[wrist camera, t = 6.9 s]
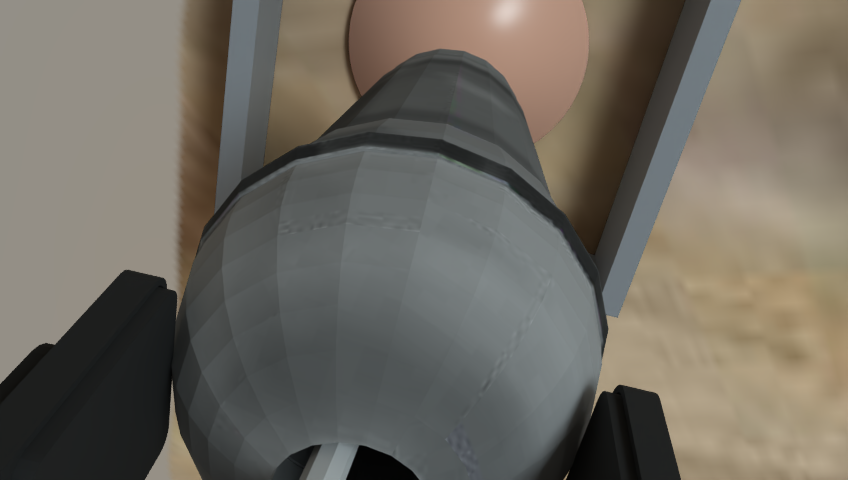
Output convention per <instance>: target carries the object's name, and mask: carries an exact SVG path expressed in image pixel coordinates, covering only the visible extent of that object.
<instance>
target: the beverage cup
mask: <svg viewBox="0 0 848 480" xmlns="http://www.w3.org/2000/svg"><path fill="white" fill-rule="evenodd" d="M607 334H608V324H607V318H606V312H605V307H604V301H603V295H602V289H601V283H600V277H599V271H598V269H597V267H596V266H595V264H594V262H593V261H592V259H591V257H590V256H589V254H588V252H587V250H586V249H585V247H584V245H583V244H582V242H581V240H580V239H579V237H578V235H577V233H576V232H575V230H574V228H573V227H572V225H571V223H570V222H569V220H568V218H567V216H566V215H565V214H564V213H563V212H562V211H561V210H560V209H558V208H557V206H556V205H555V203H554V201H553V200H552V198H551V196H550V193H549V190H548V187H547V183H546V180H545V177H544V174H543V171H542V168H541V165H540V162H539V159H538V156H537V152H536V149H535V146H534V143H533V140H532V137H531V134H530V131H529V128H528V124H527V121H526V118H525V115H524V112H523V110H522V108H521V106H520V104H519V103H518V101H517V99H516V96H515V94H514V92H513V91H512V89H511V87H510V85H509V84H508V82H507V80H506V79H505V77H504V76H503V75H502V74H501V73H500V72H499V71H498V70H496V69H495V68H494V67H493V66H492V65H491V64H490V63H489V62H487V61H486V60H484V59H482V58H479V57H477V56H475V55H472V54H470V53H468V52H466V51H460V50H449V49H436V50H432V51H427V52H423V53H419V54H416V55H414V56H412V57H411V58H409V59H407V60H406V61H404V62H403V63H401V64H399V65H398V66H396V67H395V68H394V69H393V70H391V71H390V72H388V73H386V74H385V75H383V76H382V77H381V78H380V79H379V80H378V81H377V82H376V83H375V84H374V85H373V86H372V87H371V88H370V89H369V90H368V91H367V92H366V93H365V94H364V95H363V96H362V97H361V98H360V99H359V100H358V101H357V102H356V103H355V104H353V105H352V106H351V107H350V108H349V109H348V110H347V111H346V112H345V113H344V114H343V115H342V116H341V117H340V118H339V119H338V120H337V121H336V122H335V123H334V124H333V125H332V126H331V127H330V128H329V129H328V130H327V131H326V132H325V133H324V134H323V135H321V136H320V137H319V138H318V139H317V140H316V141H314V142H312V143H311V144H307V145H302V146H298V147H296V148H295V149H293V150H291V151H289V152H288V153H286V154H284V155H283V156H281V157H279V158H278V159H276V160H274V161H273V162H271V163H269V164H268V165H266V166H264V167H263V168H261V169H259V170H257V171H256V172H254V173H252V174H251V175H249V176H247V177H246V178H244V179H242V180H241V181H240V183H239V184H238V185H237V186H236V188H235V189H234V190H233V192H232V193H231V194H230V195H229V197H228V198H227V199H226V200H225V202H224V203H223V204H222V205H221V207H220V208H219V209H218V210H217V212H216V213H215V214H214V215H213V217H212V218H211V219H210V220H209V222H208V223H207V224H206V225H205V227H204V230H203V233H202V237H201V240H200V243H199V247H198V250H197V253H196V257H195V260H194V262H193V265H192V268H191V272H190V275H189V278H188V282H187V285H186V288H185V292H184V295H183V298H182V302H181V305H180V309H179V312H178V315H177V319H176V324H175V339H174V353H173V359H172V364H171V367H172V381H173V392H174V402H175V412H176V416H177V421H178V425H179V430H180V434H181V436H182V438H183V441H184V443H185V445H186V447H187V449H188V451H189V453H190V455H191V457H192V459H193V461H194V463H195V465H196V468H197V470H198V472H199V474H200V476H201V478H202V480H563V479H564V478H565V476H566V475H567V473H568V472H569V470H570V469H571V467H572V466H573V463H574V459H575V456H576V453H577V451H578V448H579V446H580V443H581V441H582V438H583V436H584V433H585V431H586V428H587V426H588V423H589V421H590V417H591V413H592V408H593V404H594V399H595V394H596V390H597V385H598V380H599V375H600V371H601V366H602V357H603V352H604V348H605V343H606V338H607Z"/></svg>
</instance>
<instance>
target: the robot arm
mask: <svg viewBox="0 0 848 480" xmlns="http://www.w3.org/2000/svg"><path fill="white" fill-rule="evenodd" d="M176 309H177V294H176V292H175V291H173V290H169V289H167V284H166V280H165V279H164V278H161V277H157V276H152V275H148V274H143V273H139V272H135V271H131V270H124V271H123V272H122V273H121V274H120V275H119V276H118V277H117V278H116V279H115V280H114V281H113V282H112V284H111V285H110V286H109V287H108V288H107V289H106V290H105V291H104V292H103V293H102V294H101V296H100V297H99V298H98V299H97V300H96V301H95V302H94V303H93V304H92V305H91V306H90V307H89V308H88V310H87V311H86V312H85V313H84V314H83V315H82V316H81V317H80V318H79V319H78V320H77V321H76V323H75V324H74V325H73V326H72V327H71V328H70V329H69V330H68V331H67V332H66V333H65V335H64V336H63V337H62V338H61V339H60V340H59V341H58V342H57V343H56V344H55V345H53V344H48V343H45V344H42V345H39V346H38V347H36V348H35V349H34V350H33V351H31V353H30V354H29V355H28V356H27V357H26V358H25V359H24V360H23V361H22V362H21V363H20V364H19V365H18V366H17V367H16V368H15V369H14V370H13V371H12V372H11V373H10V374H9V376H8V377H7V378H6V379H5V380H4V381H3V382H2V383H1V384H0V480H145V478H146V477H147V475H148V473H149V471H150V470H151V468H152V466H153V465H154V463H155V461H156V459H157V458H158V456H159V454H160V452H161V450H162V449H163V446H164V444H165V441H166V437H167V433H168V428H169V415H170V400H171V384H172V367H171V364H172V359H173V353H174V339H175V324H176ZM566 480H681V478H680V474H679V470H678V466H677V463H676V459H675V455H674V451H673V447H672V443H671V440H670V436H669V432H668V428H667V424H666V421H665V417H664V413H663V409H662V405H661V401H660V398H659V396H658V394H656V393H654V392H649V391H645V390H641V389H637V388H632V387H628V386H624V385H618V386H617V387H616V388H615V389H614V391H613V393H611V392H606V391H603V392H602V393H601V394H600V396H599V398H598V401H597V403H596V406H595V408H594V411H593V413H592V416H591V418H590V421H589V423H588V426H587V428H586V431H585V433H584V436H583V438H582V441H581V443H580V446H579V448H578V451H577V453H576V456H575V459H574V463H573V466H572V467H571V469H570V471H569V473H568V476H567V478H566Z"/></svg>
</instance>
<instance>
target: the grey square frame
mask: <svg viewBox="0 0 848 480" xmlns="http://www.w3.org/2000/svg"><path fill="white" fill-rule="evenodd" d="M282 1H283V0H233V6H232V17H231V29H230V40H229V52H228V63H227V74H226V86H225V97H224V108H223V120H222V131H221V142H220V154H219V165H218V177H217V188H216V199H215V211H214V214H215V213H216V212H217V210H218V209H219V208H220V207H221V205H222V204H223V203H224V202H225V200H226V199H227V198H228V197H229V195H230V194H231V193H232V192H233V190H234V189H235V188H236V186H237V185H238V184H239V183H240V181H241V180H242V179H244V178H246V177H247V176H249V175H251V174H252V173H254V172H256V171H257V170H259V169H261V168H263V163H264V154H265V146H266V137H267V129H268V120H269V112H270V103H271V95H272V86H273V78H274V69H275V61H276V52H277V44H278V35H279V27H280V18H281V10H282ZM740 2H741V0H685V3H684V6H683V9H682V12H681V15H680V17H679V20H678V23H677V26H676V29H675V31H674V34H673V37H672V40H671V43H670V45H669V48H668V51H667V54H666V57H665V59H664V62H663V65H662V68H661V71H660V73H659V76H658V79H657V82H656V85H655V87H654V90H653V93H652V96H651V99H650V102H649V104H648V107H647V110H646V113H645V116H644V118H643V121H642V124H641V127H640V130H639V132H638V135H637V138H636V141H635V144H634V146H633V149H632V152H631V155H630V158H629V160H628V163H627V166H626V169H625V172H624V174H623V177H622V180H621V183H620V186H619V189H618V191H617V194H616V197H615V200H614V203H613V205H612V208H611V211H610V214H609V217H608V219H607V222H606V225H605V228H604V231H603V233H602V236H601V239H600V242H599V245H598V247H597V250H596V253H595V255H593V254H589V253H588V254H589V256H590V257H591V259H592V261H593V262H594V264H595V266H596V267H597V269H598V271H599V277H600V283H601V289H602V295H603V301H604V307H605V312H606V315H609V316H613V317H617V318H618V315H619V313H620V310H621V307H622V305H623V302H624V300H625V297H626V295H627V292H628V289H629V287H630V284H631V282H632V279H633V277H634V274H635V271H636V269H637V266H638V264H639V261H640V259H641V256H642V253H643V251H644V248H645V246H646V243H647V241H648V238H649V235H650V233H651V230H652V228H653V225H654V223H655V220H656V217H657V215H658V212H659V210H660V207H661V205H662V202H663V199H664V197H665V194H666V192H667V189H668V187H669V184H670V181H671V179H672V176H673V174H674V171H675V169H676V166H677V163H678V161H679V158H680V156H681V153H682V151H683V148H684V145H685V143H686V140H687V138H688V135H689V133H690V130H691V128H692V125H693V122H694V120H695V117H696V115H697V112H698V110H699V107H700V104H701V102H702V99H703V97H704V94H705V92H706V89H707V86H708V84H709V81H710V79H711V76H712V74H713V71H714V68H715V66H716V63H717V61H718V58H719V56H720V53H721V50H722V48H723V45H724V43H725V40H726V38H727V35H728V32H729V30H730V27H731V25H732V22H733V20H734V17H735V14H736V12H737V9H738V7H739V4H740ZM436 49H449V50H460V51H466V52H468V53H470V54H472V55H475V56H477V57H479V58H482V59H484V60H486V61H487V62H489V63H490V64H491V65H492V66H493V67H494V68H495V69H496V70H498V71H499V72H500V73H501V74H502V75H503V76H504V77H505V79H506V80H507V82H508V84H509V85H510V87H511V89H512V91H513V92H514V94H515V96H516V99H517V101H518V103H519V104H520V106H521V108H522V110H523V112H524V115H525V118H526V121H527V124H528V128H529V131H530V134H531V137H532V140H533V143H535V142H537V141H538V140H540V139H541V138H542V137H543V136H545V135H546V134H547V133H548V132H549V131H551V130H552V129H553V128H554V127H555V125H556V124H557V123H558V122H559V121H560V120H561V119H562V118H563V116H564V115H565V114H566V112H567V111H568V109H569V108H570V107H571V105H572V103H573V101H574V99H575V97H576V96H577V94H578V92H579V89H580V86H581V84H582V81H583V79H584V75H585V71H586V67H587V63H588V53H589V29H588V22H587V16H586V12H585V9H584V5H583V2H582V0H356V3H355V5H354V8H353V13H352V17H351V21H350V30H349V56H350V62H351V68H352V72H353V75H354V79H355V82H356V85H357V87H358V89H359V92H360V94H361V96H363V95H364V94H365V93H366V92H367V91H368V90H369V89H370V88H371V87H372V86H373V85H374V84H375V83H376V82H377V81H378V80H379V79H380V78H381V77H382V76H383V75H385V74H386V73H388V72H390V71H391V70H393V69H394V68H395V67H396V66H398V65H399V64H401V63H403V62H404V61H406V60H407V59H409V58H411V57H412V56H414V55H416V54H419V53H423V52H427V51H432V50H436Z"/></svg>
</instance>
